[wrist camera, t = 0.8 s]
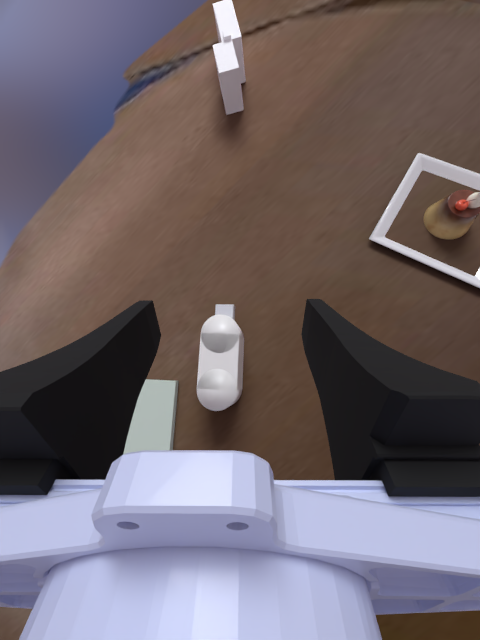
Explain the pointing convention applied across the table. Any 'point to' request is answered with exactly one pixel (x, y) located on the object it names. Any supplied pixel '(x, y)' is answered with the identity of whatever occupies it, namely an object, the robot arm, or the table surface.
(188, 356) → the table surface
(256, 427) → the table surface
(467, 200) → the dessert
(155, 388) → the sage pad
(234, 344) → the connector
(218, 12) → the white upright tiles
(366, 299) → the table surface
